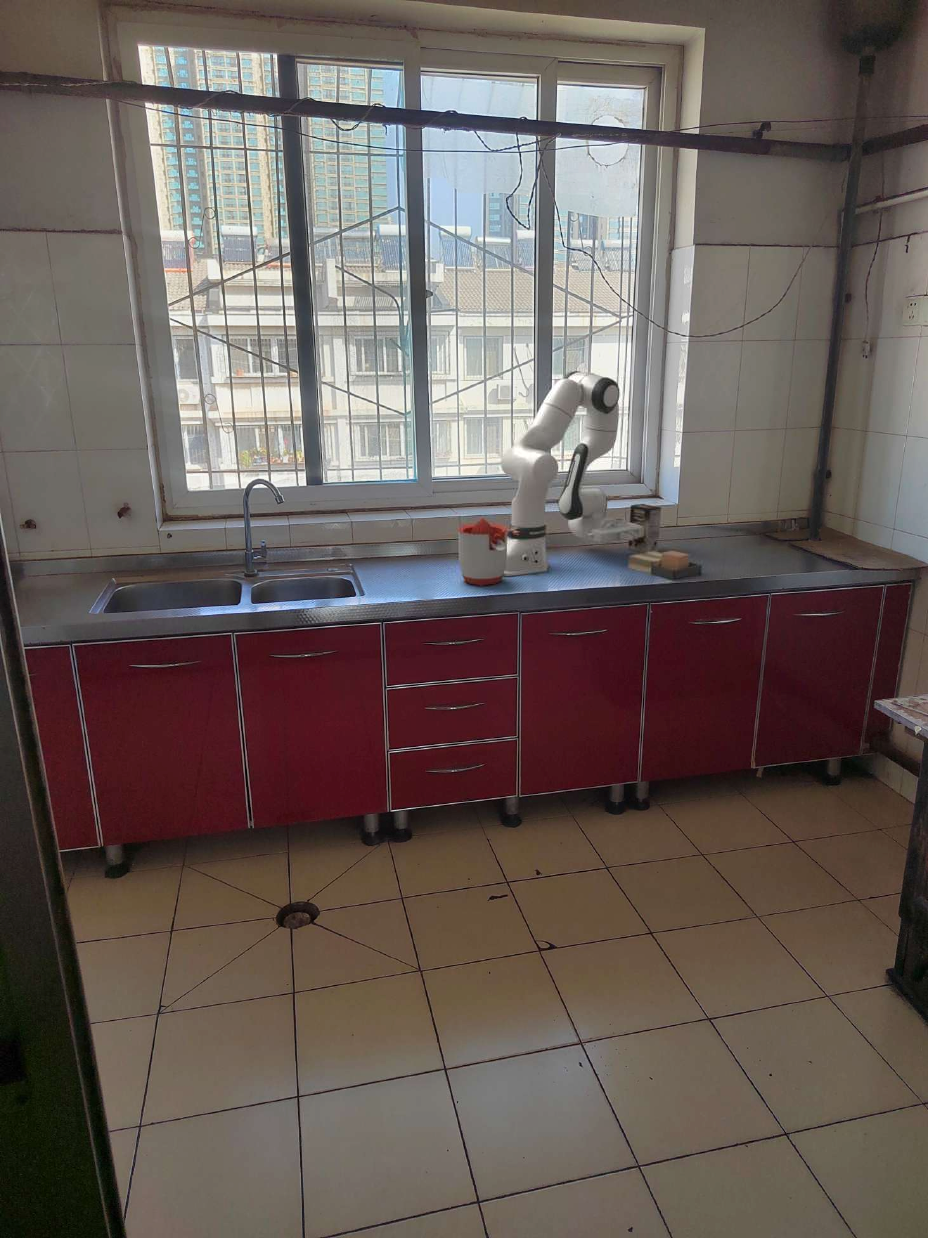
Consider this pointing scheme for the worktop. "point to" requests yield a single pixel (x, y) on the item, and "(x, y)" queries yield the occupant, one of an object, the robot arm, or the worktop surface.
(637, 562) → the tan flat box
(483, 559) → the citrus juicer
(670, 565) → the tile block
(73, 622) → the worktop surface
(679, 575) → the tray
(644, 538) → the coffee box
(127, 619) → the worktop surface
